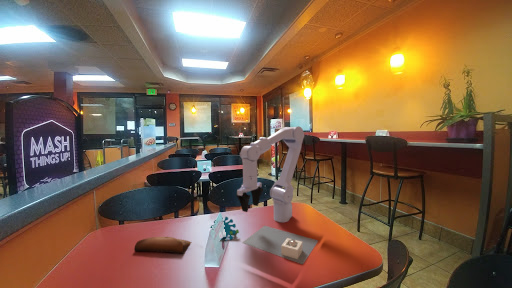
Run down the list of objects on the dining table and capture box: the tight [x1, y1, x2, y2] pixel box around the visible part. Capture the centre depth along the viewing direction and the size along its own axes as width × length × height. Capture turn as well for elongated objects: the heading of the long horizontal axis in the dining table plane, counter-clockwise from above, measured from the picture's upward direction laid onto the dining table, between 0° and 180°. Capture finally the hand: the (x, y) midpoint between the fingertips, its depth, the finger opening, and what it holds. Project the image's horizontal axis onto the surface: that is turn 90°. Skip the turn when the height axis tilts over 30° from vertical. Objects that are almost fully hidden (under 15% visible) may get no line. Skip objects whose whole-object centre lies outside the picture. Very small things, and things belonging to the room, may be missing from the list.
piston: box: [289, 239, 296, 248], centre depth 68 cm, size 2×2×4 cm
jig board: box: [241, 225, 319, 265], centre depth 75 cm, size 16×23×1 cm
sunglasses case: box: [133, 236, 192, 254], centre depth 74 cm, size 18×7×7 cm
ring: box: [281, 238, 303, 259], centre depth 68 cm, size 5×5×3 cm
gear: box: [210, 216, 240, 240], centre depth 80 cm, size 11×6×10 cm
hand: (250, 208), depth 84 cm, fingers open, 7 cm apart
